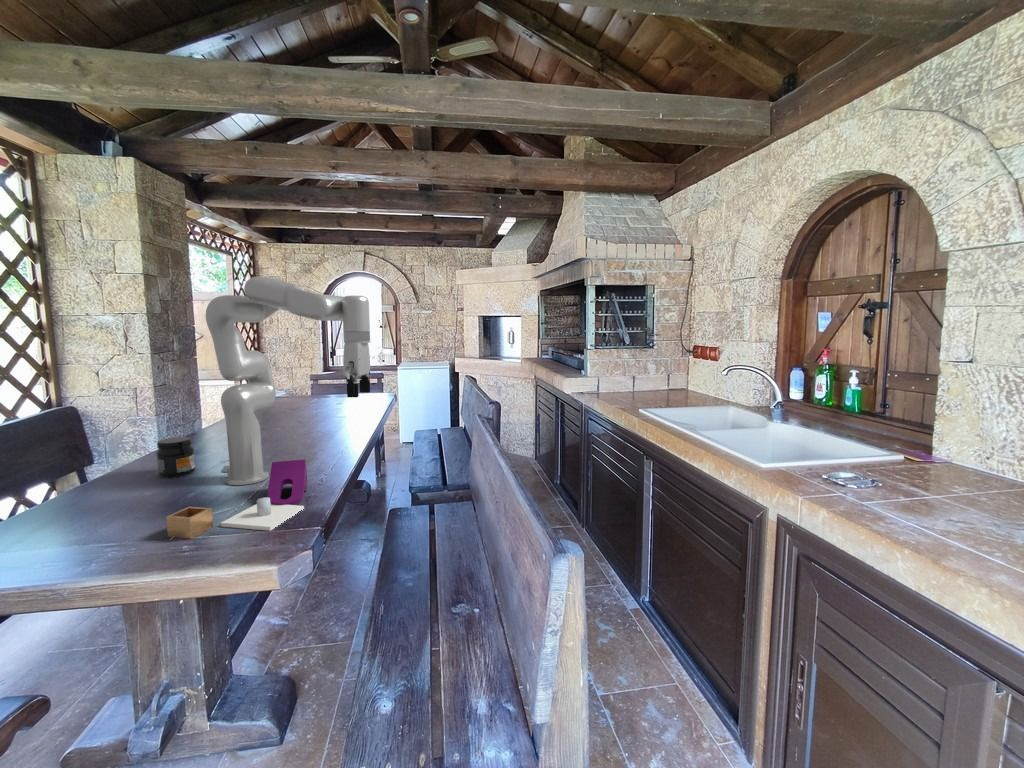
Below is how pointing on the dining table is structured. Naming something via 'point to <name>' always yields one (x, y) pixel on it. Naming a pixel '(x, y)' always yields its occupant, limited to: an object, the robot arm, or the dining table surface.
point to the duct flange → (262, 516)
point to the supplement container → (175, 457)
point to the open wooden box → (189, 522)
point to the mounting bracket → (287, 481)
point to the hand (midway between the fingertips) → (359, 394)
